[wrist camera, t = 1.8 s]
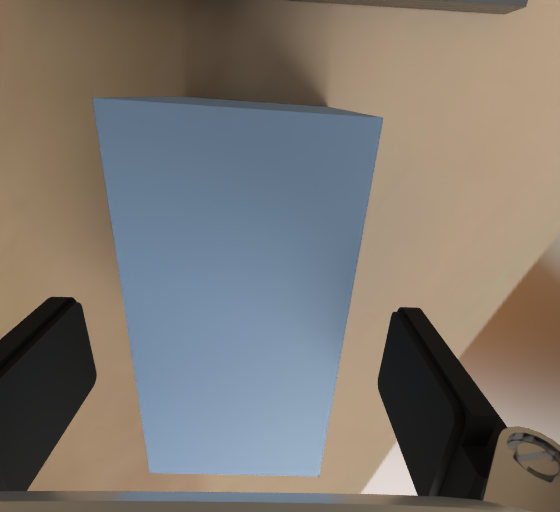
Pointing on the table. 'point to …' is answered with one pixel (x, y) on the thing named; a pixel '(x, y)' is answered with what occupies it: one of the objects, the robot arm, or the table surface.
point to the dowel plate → (441, 4)
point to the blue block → (235, 271)
